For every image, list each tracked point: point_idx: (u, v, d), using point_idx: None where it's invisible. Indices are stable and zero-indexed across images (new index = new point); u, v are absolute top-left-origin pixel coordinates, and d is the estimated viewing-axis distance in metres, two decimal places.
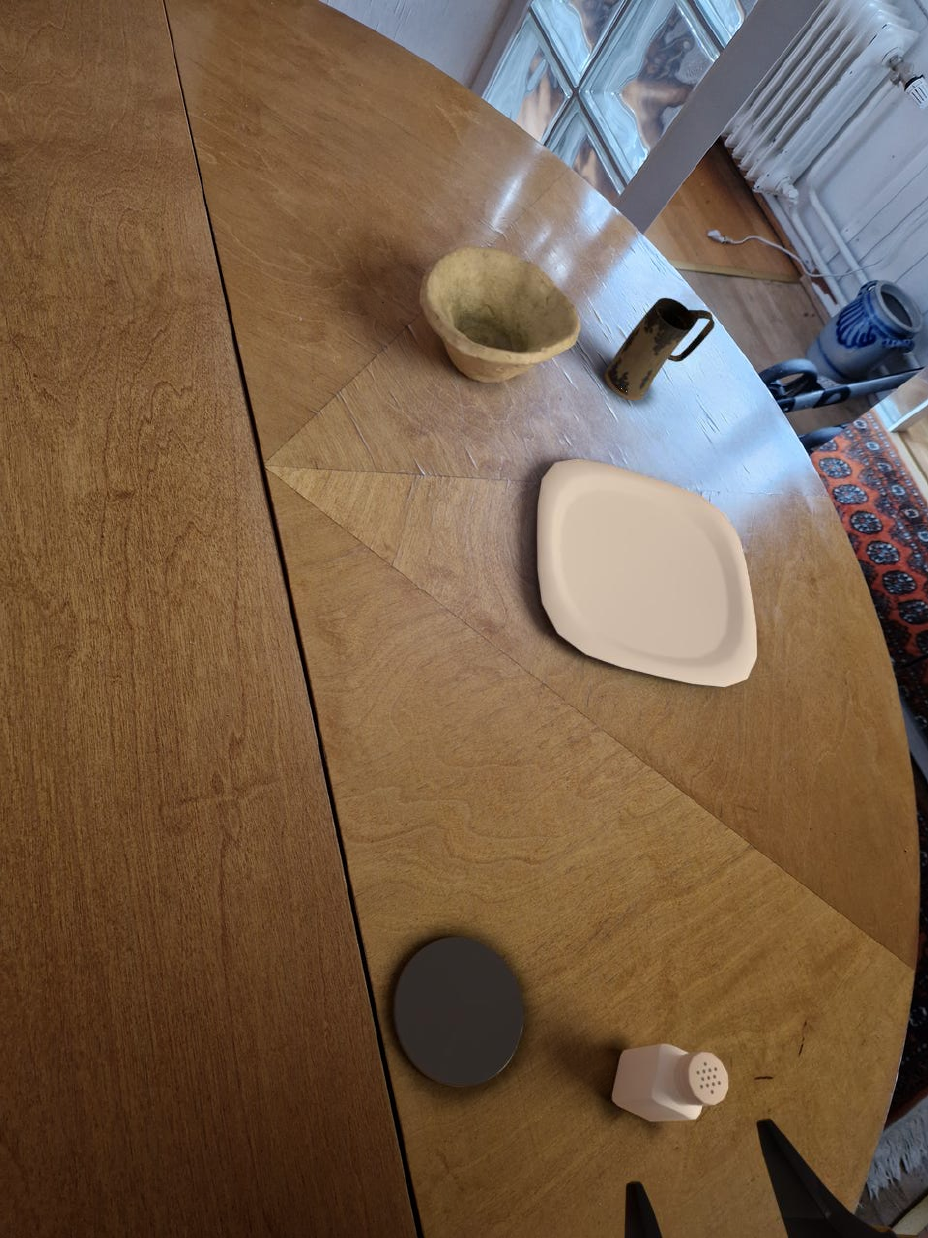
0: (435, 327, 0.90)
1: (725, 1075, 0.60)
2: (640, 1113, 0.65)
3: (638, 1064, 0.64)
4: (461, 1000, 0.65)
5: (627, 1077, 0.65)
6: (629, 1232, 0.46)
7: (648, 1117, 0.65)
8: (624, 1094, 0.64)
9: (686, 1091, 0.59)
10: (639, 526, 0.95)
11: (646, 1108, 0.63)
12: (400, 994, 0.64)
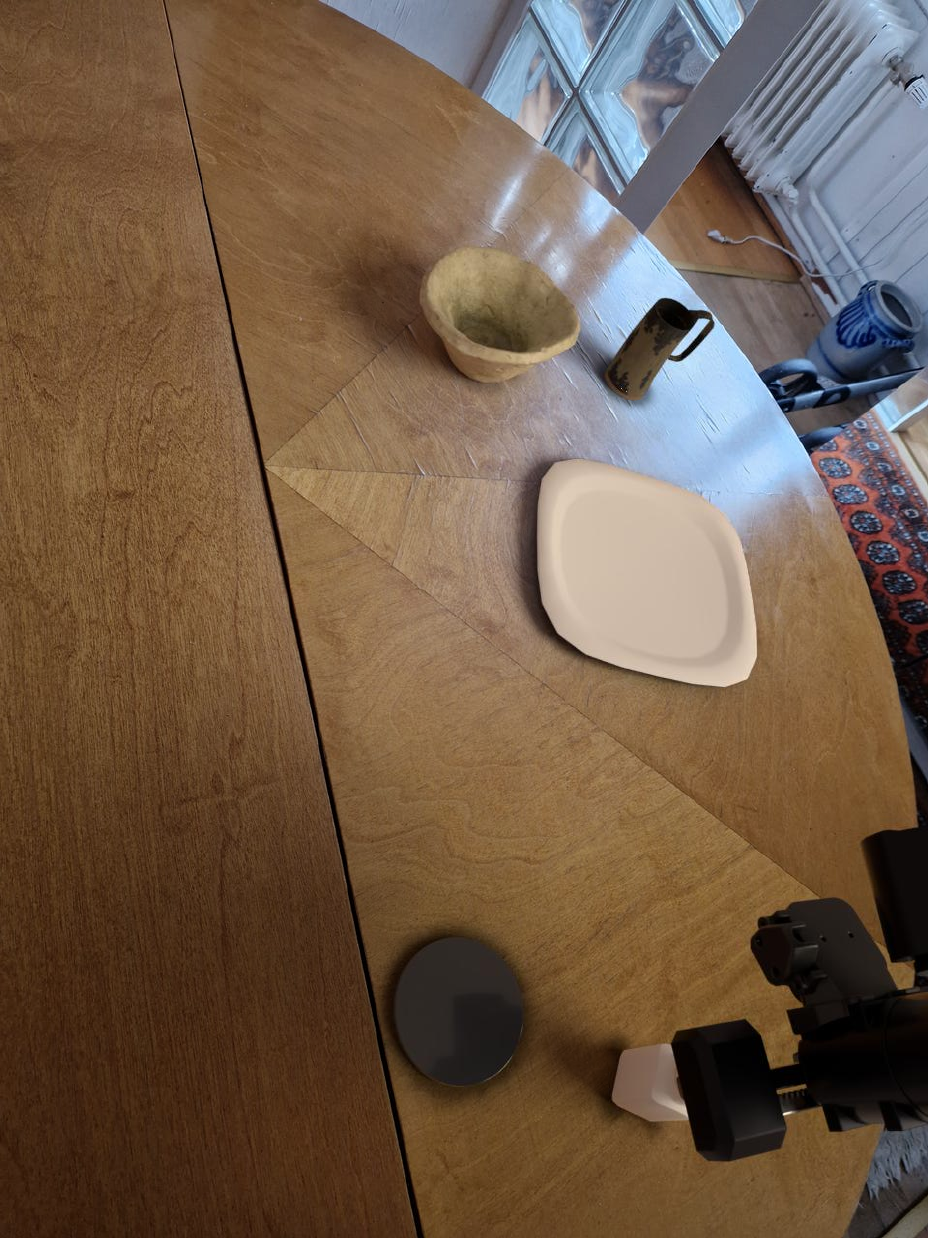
0: (435, 327, 0.90)
1: None
2: (640, 1113, 0.65)
3: (638, 1064, 0.64)
4: (461, 1000, 0.65)
5: (627, 1077, 0.65)
6: None
7: (648, 1117, 0.65)
8: (624, 1094, 0.64)
9: None
10: (639, 526, 0.95)
11: (646, 1108, 0.63)
12: (400, 994, 0.64)
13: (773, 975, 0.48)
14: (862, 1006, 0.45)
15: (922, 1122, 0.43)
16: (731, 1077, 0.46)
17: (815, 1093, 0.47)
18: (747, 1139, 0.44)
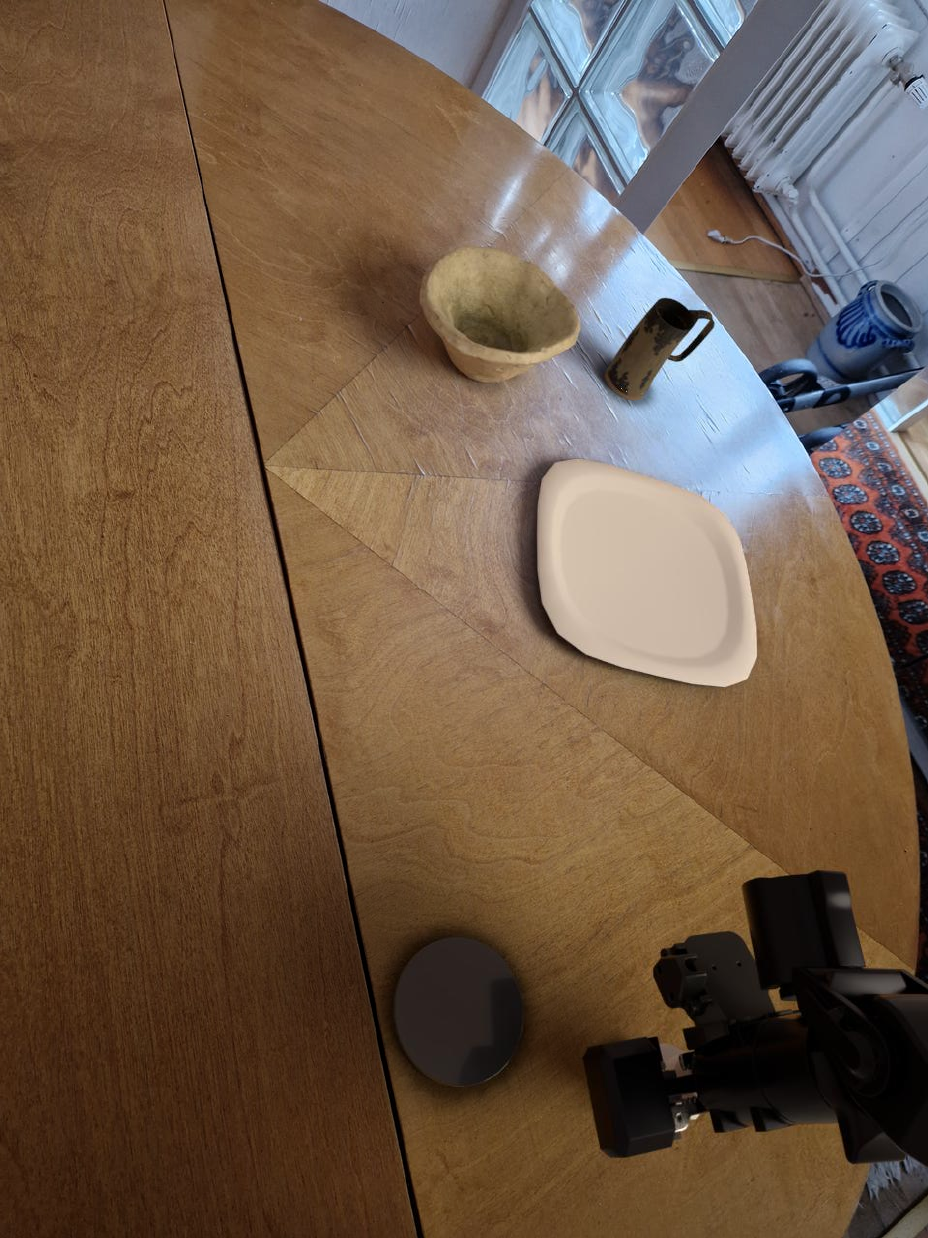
0: (435, 327, 0.90)
1: None
2: None
3: None
4: (461, 1000, 0.65)
5: None
6: None
7: None
8: None
9: None
10: (639, 526, 0.95)
11: None
12: (400, 994, 0.64)
13: (669, 999, 0.57)
14: (738, 1026, 0.54)
15: (784, 1124, 0.52)
16: (629, 1086, 0.54)
17: (703, 1100, 0.56)
18: (640, 1139, 0.53)
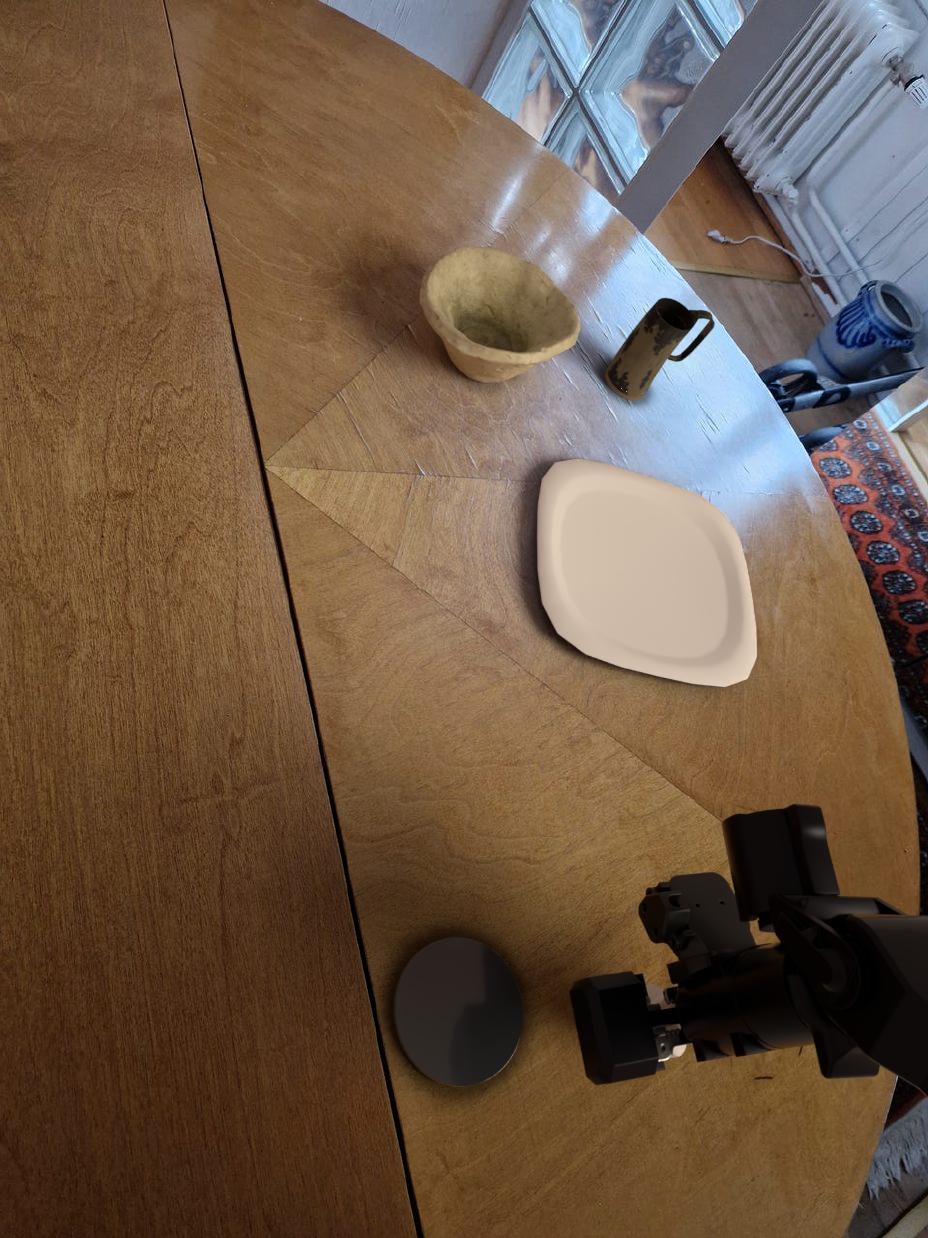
0: (435, 327, 0.90)
1: None
2: None
3: None
4: (461, 1000, 0.65)
5: None
6: None
7: None
8: None
9: (671, 1026, 0.61)
10: (639, 526, 0.95)
11: None
12: (400, 994, 0.64)
13: (653, 934, 0.59)
14: (719, 957, 0.55)
15: (763, 1049, 0.53)
16: (614, 1016, 0.56)
17: (687, 1031, 0.57)
18: (624, 1065, 0.55)
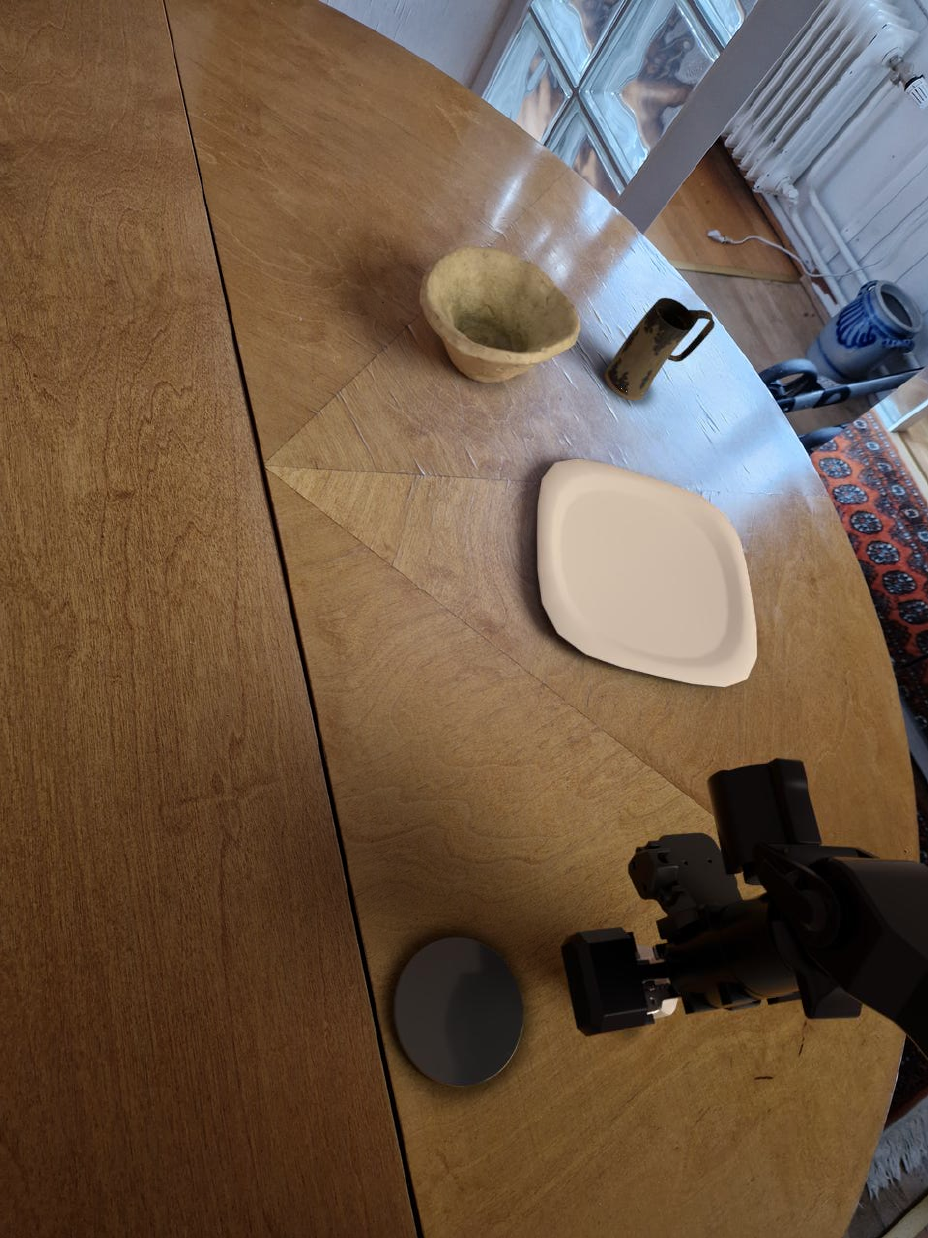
0: (435, 327, 0.90)
1: None
2: None
3: None
4: (461, 1000, 0.65)
5: None
6: None
7: None
8: None
9: (660, 983, 0.62)
10: (639, 526, 0.95)
11: None
12: (400, 994, 0.64)
13: (643, 891, 0.60)
14: (707, 910, 0.57)
15: (749, 998, 0.55)
16: (604, 968, 0.57)
17: (675, 985, 0.59)
18: (614, 1015, 0.56)
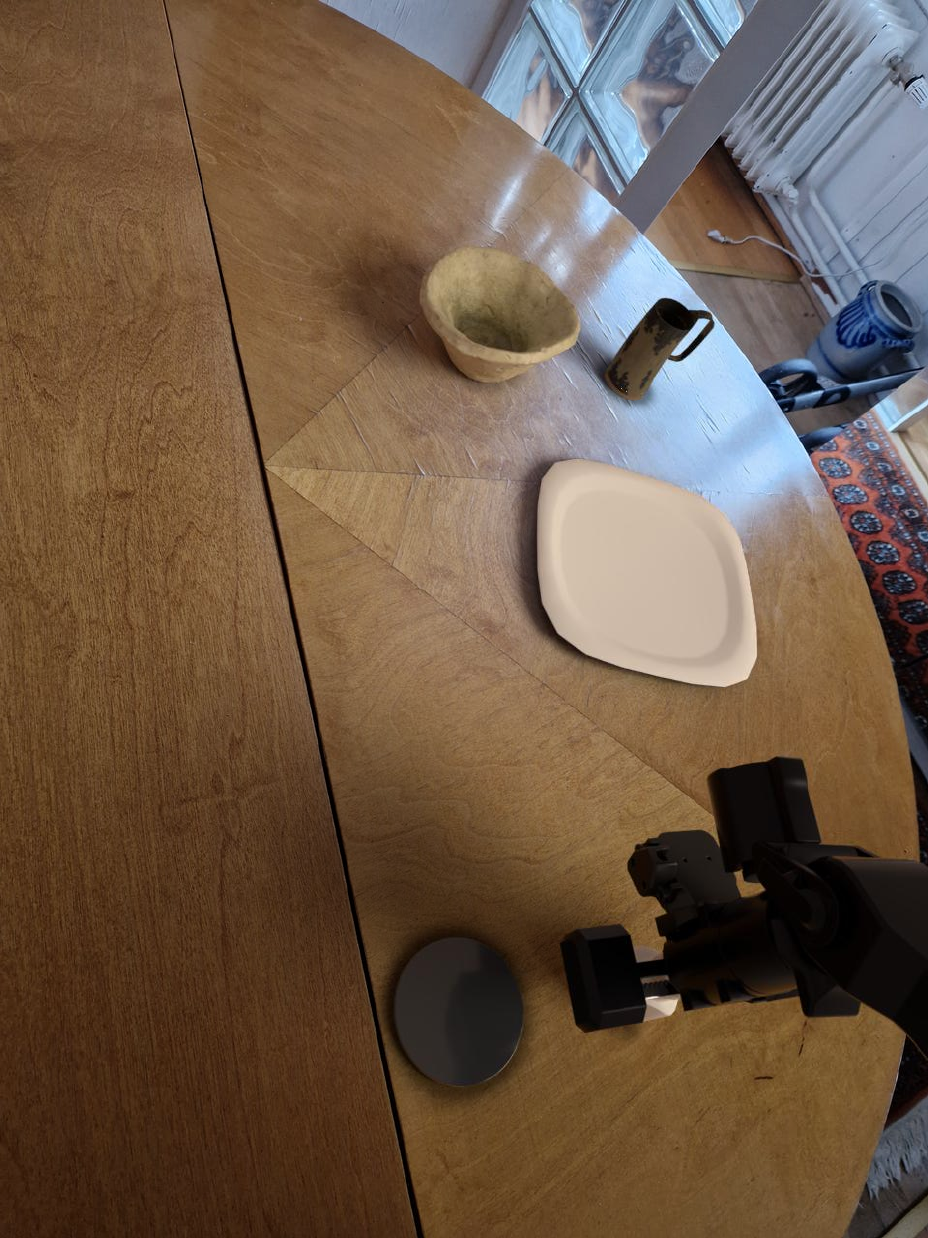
0: (435, 327, 0.90)
1: None
2: None
3: None
4: (461, 1000, 0.65)
5: None
6: None
7: None
8: None
9: None
10: (639, 526, 0.95)
11: None
12: (400, 994, 0.64)
13: (642, 888, 0.60)
14: (706, 907, 0.57)
15: (748, 995, 0.55)
16: (603, 965, 0.57)
17: (674, 981, 0.59)
18: (613, 1012, 0.56)
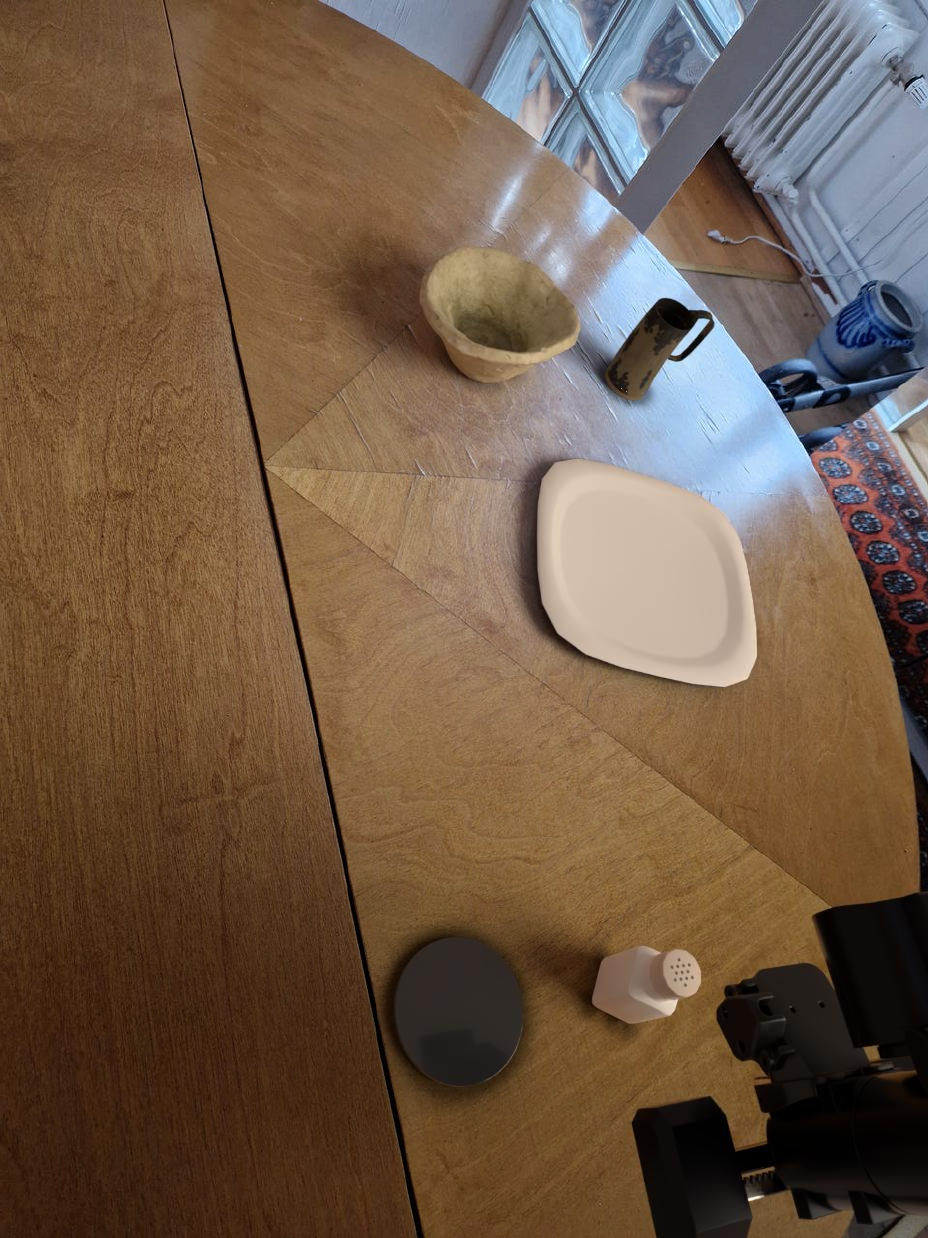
0: (435, 327, 0.90)
1: (698, 971, 0.63)
2: (619, 1014, 0.68)
3: (616, 967, 0.67)
4: (461, 1000, 0.65)
5: (606, 979, 0.68)
6: None
7: (626, 1018, 0.68)
8: (603, 995, 0.67)
9: (661, 985, 0.62)
10: (639, 526, 0.95)
11: (624, 1007, 0.66)
12: (400, 994, 0.64)
13: (739, 1049, 0.46)
14: (831, 1087, 0.43)
15: (894, 1214, 0.41)
16: (693, 1162, 0.43)
17: (784, 1176, 0.45)
18: (709, 1230, 0.42)
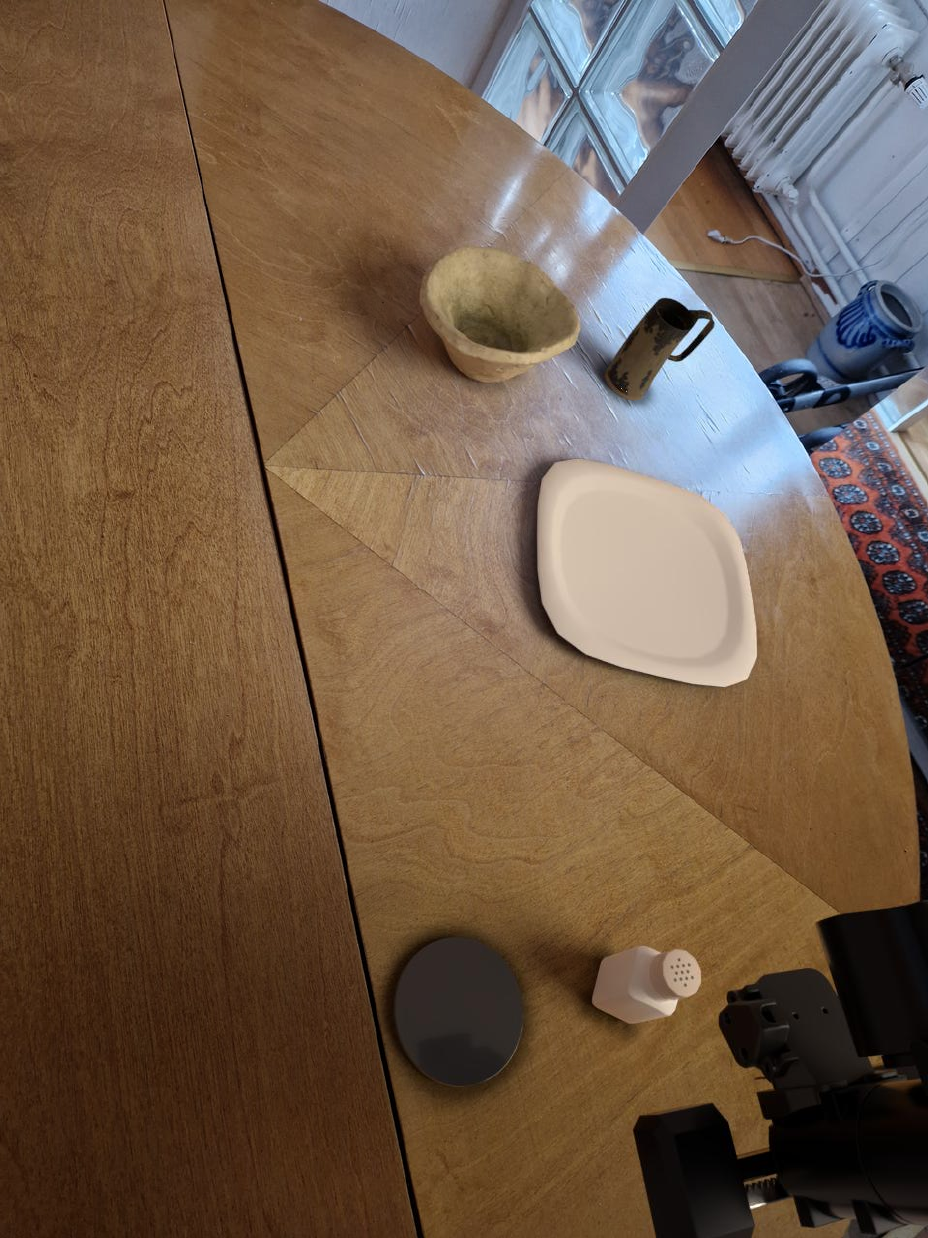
0: (435, 327, 0.90)
1: (698, 971, 0.63)
2: (619, 1014, 0.68)
3: (616, 967, 0.67)
4: (461, 1000, 0.65)
5: (606, 979, 0.68)
6: None
7: (626, 1018, 0.68)
8: (603, 995, 0.67)
9: (661, 985, 0.62)
10: (639, 526, 0.95)
11: (624, 1007, 0.66)
12: (400, 994, 0.64)
13: (741, 1056, 0.45)
14: (834, 1095, 0.42)
15: (898, 1224, 0.40)
16: (695, 1171, 0.43)
17: (786, 1184, 0.44)
18: None
